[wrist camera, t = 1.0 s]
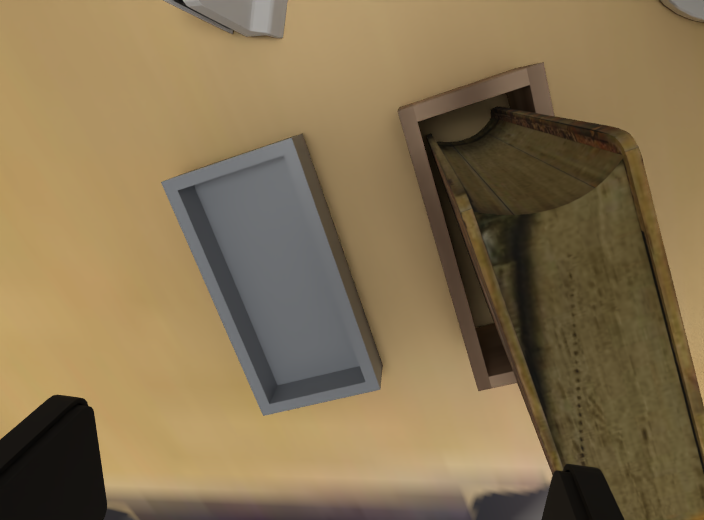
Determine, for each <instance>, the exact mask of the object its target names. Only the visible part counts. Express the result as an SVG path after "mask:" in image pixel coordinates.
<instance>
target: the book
mask: <svg viewBox="0 0 704 520" xmlns="http://www.w3.org/2000/svg"><path fill="white" fill-rule="evenodd" d="M426 137H427V140H428V142H429V145H430V148H431V151H432V154H433V156H434V159H435V162H436V165H437V167H438V170H439V173H440V176H441V178H442V181H443V184H444V187H445V189H446V192H447V195H448V198H449V200H450V203H451V206H452V209H453V212H454V214H455V217H456V220H457V223H458V225H459V228H460V231H461V234H462V236H463V239H464V242H465V245H466V247H467V250H468V253H469V256H470V258H471V261H472V264H473V267H474V269H475V272H476V275H477V278H478V281H479V283H480V286H481V289H482V292H483V294H484V297H485V300H486V303H487V305H488V308H489V310H490V313H491V316H492V318H493V321H494V323H495V326H496V329H497V331H498V334H499V336H500V339H501V342H502V344H503V347H504V349H505V352H506V355H507V357H508V360H509V363H510V365H511V368H512V370H513V373H514V376H515V378H516V381H517V383H518V386H519V389H520V391H521V394H522V396H523V399H524V402H525V404H526V407H527V409H528V412H529V415H530V417H531V420H532V422H533V425H534V428H535V430H536V433H537V435H538V438H539V441H540V443H541V446H542V448H543V451H544V454H545V456H546V459H547V462H548V464H549V467H550V469H551V472H552V475H553V473H554V472H555V471H556V470H558V471H563V468H564V466H565V465H566V464H574V465H581V466H588V467H596V468H599V469H600V470H601V471H602V473H603V475H604V477H605V479H606V481H607V483H608V485H609V487H610V490H611V492H612V494H613V496H614V498H615V500H616V502H617V505H618V507H619V509H620V511H621V513H622V515H623V517H624V519H625V520H704V406H703V402H702V398H701V394H700V390H699V386H698V382H697V378H696V374H695V369H694V365H693V361H692V357H691V353H690V349H689V345H688V341H687V337H686V333H685V329H684V325H683V321H682V317H681V313H680V309H679V305H678V301H677V297H676V293H675V289H674V285H673V281H672V277H671V273H670V269H669V265H668V261H667V257H666V253H665V249H664V245H663V241H662V237H661V233H660V228H659V224H658V220H657V216H656V212H655V208H654V204H653V200H652V196H651V192H650V188H649V184H648V180H647V176H646V172H645V168H644V164H643V159H642V156H641V153H640V150H639V147H638V145H637V143H636V141H635V140H634V138H633V137H632V136H631V135H630V134H629V133H628V132H626V131H623V130H621V129H619V128H615V127H610V126H606V125H600V124H594V123H589V122H583V121H577V120H572V119H566V118H560V117H555V116H549V115H544V114H538V113H532V112H527V111H521V110H515V109H510V108H504V107H495V108H492V109H491V119H490V121H489V122H488V124H487V125H486V126H485V127H484V128H483V129H482V130H481V131H480V132H479V133H477V134H476V135H474V136H472V137H470V138H468V139H465V140H462V141H457V142H436V141H435V139H434V138H433V136H432V134H429V135H426Z"/></svg>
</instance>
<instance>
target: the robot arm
mask: <svg viewBox="0 0 704 520" xmlns="http://www.w3.org/2000/svg"><path fill="white" fill-rule="evenodd" d="M660 1H661V2H662V3H663V4H664V5H665V6H667V7H668V8H670V9H671V10H672V11H674V12H675V13H677V14H678V15H681V16H683V17H686V18H688V19H691V20H694V21H699V22H704V0H660ZM106 510H107V500H106V493H105V486H104V479H103V472H102V465H101V458H100V451H99V444H98V437H97V430H96V423H95V416H94V411H93V409H92V407H89V406H88V404H87V401H86V400H85V399H83V398H78V397H71V396H63V395H54V396H52V397H50V398H49V399H47V400H46V401H45V402H44V403H43V404H42V405H40V406H39V407H38V408H37V409H36V410H35V411H33V412H32V413H31V414H30V415H29V416H28V417H26V418H25V419H24V420H23V421H22V422H21V423H19V424H18V425H17V426H16V427H15V428H13V429H12V430H11V431H10V432H9V433H8V434H6V435H5V436H4V437H3V438H2V439H1V440H0V520H103V519H104V517H105V514H106ZM542 520H625V519H624V517H623V515H622V513H621V511H620V509H619V507H618V505H617V502H616V500H615V498H614V496H613V494H612V492H611V490H610V487H609V485H608V483H607V481H606V479H605V477H604V475H603V473H602V471H601V470H600V469H599V468H596V467H588V466H581V465H574V464H566V465H565V466H564V468H563V471H558V470H556V471H555V472H554V473H553V476H552V480H551V484H550V488H549V492H548V496H547V500H546V504H545V508H544V512H543V516H542Z"/></svg>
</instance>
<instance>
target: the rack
mask: <svg viewBox="0 0 704 520" xmlns="http://www.w3.org/2000/svg"><path fill="white" fill-rule="evenodd" d="M506 92H507V96H508V101H509V105H510V109H515V110H521V111H527V112H532V113H538V114H544V115H549V116H554V112H553V107H552V102H551V97H550V92H549V87H548V82H547V77H546V72H545V67H544V62H542V63H537V64H533V65H528V66H524V67H519V68H515V69H512V70H509V71H506V72H503V73H500V74H497V75H494V76H491V77H488V78H485V79H482V80H479V81H476V82H474V83H471V84H468V85H465V86H462V87H459V88H456V89H453V90H450V91H447V92H444V93H441V94H438V95H435V96H432V97H429V98H426V99H423V100H420V101H417V102H414V103H411V104H408V105H405V106H402V107H399V109H398V114H399V118H400V121H401V125H402V128H403V132H404V135H405V139H406V142H407V146H408V149H409V153H410V156H411V159H412V163H413V166H414V170H415V173H416V177H417V180H418V184H419V187H420V191H421V194H422V198H423V201H424V204H425V208H426V211H427V215H428V218H429V222H430V225H431V229H432V232H433V236H434V239H435V243H436V246H437V250H438V253H439V256H440V260H441V263H442V267H443V270H444V274H445V277H446V281H447V284H448V288H449V291H450V295H451V298H452V301H453V305H454V308H455V312H456V315H457V319H458V322H459V326H460V329H461V333H462V336H463V340H464V343H465V346H466V350H467V353H468V357H469V360H470V364H471V367H472V371H473V374H474V378H475V381H476V385H477V388H478V391H481V390H486V389H490V388H495V387H500V386H504V385H509V384H514V383H517V381H516V378H515V376H514V373H513V370H512V368H511V365H510V363H509V360H508V357H507V355H506V352H505V349H504V347H503V344H502V342H501V339H500V336H499V334H498V331H497V329H496V326H495V323H494V324H489V325H485V326H481V327H477V328H475V326H474V323H473V319H472V316H471V312H470V308H469V305H468V301H467V298H466V294H465V290H464V287H463V283H462V280H461V276H460V273H459V269H458V265H457V262H456V258H455V255H454V251H453V248H452V244H451V240H450V237H449V233H448V230H447V226H446V222H445V219H444V215H443V212H442V208H441V205H440V201H439V197H438V194H437V190H436V187H435V183H434V180H433V176H432V172H431V169H430V165H429V162H428V158H427V154H426V151H425V147H424V144H423V140H422V137H421V133H420V129H419V126H418V121H421V120H424V119H427V118H430V117H434V116H437V115H440V114H443V113H446V112H449V111H452V110H455V109H458V108H461V107H464V106H467V105H470V104H473V103H476V102H479V101H482V100H485V99H488V98H491V97H494V96H497V95H500V94H503V93H506Z"/></svg>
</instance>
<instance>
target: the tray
mask: <svg viewBox="0 0 704 520" xmlns="http://www.w3.org/2000/svg"><path fill="white" fill-rule="evenodd" d="M161 183H162V185H163V188H164V190H165V192H166V195H167V197H168V199H169V201H170V204H171V206H172V208H173V211H174V213H175V215H176V217H177V220H178V222H179V224H180V227H181V229H182V231H183V233H184V236H185V238H186V240H187V243H188V245H189V247H190V249H191V252H192V254H193V256H194V259H195V261H196V263H197V265H198V268H199V270H200V272H201V275H202V277H203V279H204V281H205V284H206V286H207V288H208V291H209V293H210V295H211V297H212V300H213V302H214V304H215V307H216V309H217V311H218V313H219V316H220V318H221V320H222V323H223V325H224V327H225V329H226V332H227V334H228V336H229V339H230V341H231V343H232V345H233V348H234V350H235V352H236V355H237V357H238V359H239V362H240V364H241V366H242V368H243V371H244V373H245V375H246V378H247V380H248V382H249V384H250V387H251V389H252V391H253V394H254V396H255V398H256V400H257V403H258V405H259V407H260V410H261V412H262V414H263V416H264V415H269V414H273V413H278V412H282V411H287V410H291V409H296V408H300V407H304V406H309V405H313V404H318V403H322V402H327V401H331V400H336V399H340V398H345V397H349V396H353V395H358V394H362V393H367V392H371V391H376V390H380V388H381V377H382V366H383V365H382V362H381V359H380V356H379V354H378V351H377V348H376V345H375V342H374V339H373V336H372V333H371V330H370V327H369V325H368V322H367V319H366V316H365V313H364V310H363V307H362V304H361V301H360V299H359V296H358V293H357V290H356V287H355V284H354V281H353V278H352V275H351V273H350V270H349V267H348V264H347V261H346V258H345V255H344V252H343V249H342V247H341V244H340V241H339V238H338V235H337V232H336V229H335V226H334V223H333V221H332V218H331V215H330V212H329V209H328V206H327V203H326V200H325V197H324V194H323V192H322V189H321V186H320V183H319V180H318V177H317V174H316V171H315V168H314V166H313V163H312V160H311V157H310V154H309V151H308V148H307V145H306V142H305V140H304V137H303V134H299V135H296V136H293V137H291V138H288V139H285V140H282V141H279V142H276V143H273V144H270V145H267V146H264V147H261V148H258V149H255V150H252V151H249V152H246V153H243V154H241V155H238V156H235V157H232V158H229V159H226V160H223V161H220V162H217V163H214V164H211V165H208V166H205V167H202V168H199V169H196V170H193V171H191V172H188V173H185V174H182V175H179V176H176V177H174V178H171V179H168V180H165V181H163V182H161Z"/></svg>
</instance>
